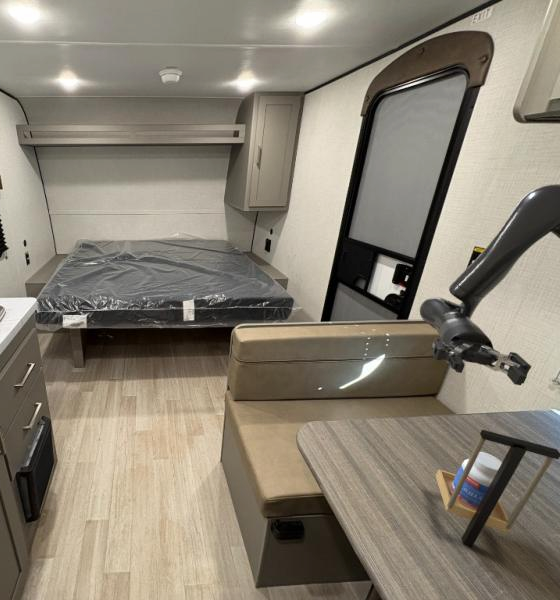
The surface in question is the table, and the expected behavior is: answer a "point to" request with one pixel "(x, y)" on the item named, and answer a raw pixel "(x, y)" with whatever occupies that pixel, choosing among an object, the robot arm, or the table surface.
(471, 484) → the pill bottle
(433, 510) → the table surface
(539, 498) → the table surface
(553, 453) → the hanging stand
